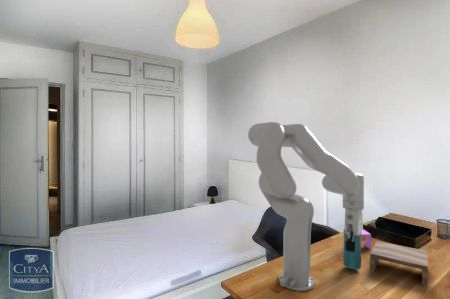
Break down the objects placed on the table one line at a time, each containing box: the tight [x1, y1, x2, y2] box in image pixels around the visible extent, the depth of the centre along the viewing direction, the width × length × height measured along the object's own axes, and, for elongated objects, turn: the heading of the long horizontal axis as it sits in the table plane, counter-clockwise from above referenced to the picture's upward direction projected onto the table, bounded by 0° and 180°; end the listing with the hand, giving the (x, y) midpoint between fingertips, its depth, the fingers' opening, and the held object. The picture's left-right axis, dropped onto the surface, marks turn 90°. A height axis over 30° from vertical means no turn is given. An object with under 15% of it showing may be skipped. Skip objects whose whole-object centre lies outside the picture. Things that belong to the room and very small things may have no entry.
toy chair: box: [361, 229, 373, 251], centre depth 128 cm, size 8×9×15 cm
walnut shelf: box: [369, 240, 429, 287], centre depth 106 cm, size 16×18×7 cm
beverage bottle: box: [342, 228, 362, 270], centre depth 106 cm, size 6×7×20 cm
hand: (353, 246), depth 106 cm, fingers open, 9 cm apart
